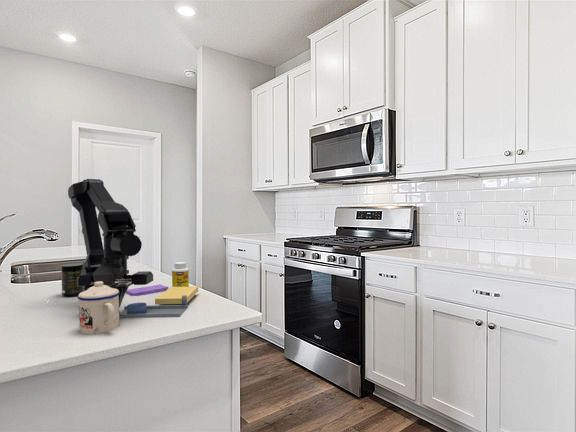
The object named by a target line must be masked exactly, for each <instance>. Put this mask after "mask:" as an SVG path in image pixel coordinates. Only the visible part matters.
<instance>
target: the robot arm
mask: <svg viewBox="0 0 576 432" xmlns="http://www.w3.org/2000/svg"><path fill="white" fill-rule="evenodd" d="M104 185H105V183H104V181H103V180H102V179H97V178H95V179H94V178H86V179H83V180H82V181H78V182H75V183H72V184H71V185H70V186H69V187H68V190H67V194H68V199H70V203H71V206H72V207H73V208H74V209H76V210H77V211H78V213H79V218H80V224H81V228H82V235H83V239H84V246H85V251H86V257H85V259H84V261H83V262H82V263H83V269H82V271H81V274H80V275H79V277H78V279H77V286H81V287H83V288H84V291H86V290H88V289H89V288H90V287H93V286H94V283H95V282H98V281H102V282H103V285H106V286H109V287H111V288H115V289H118V290H119V293H120V294H119V309H120V308H121V305H122V302H123V299H124V298H125V295H126V291H127V290H128V289H129V287H130V286H132V285H134V286H144V285H145V286H146V285H149V284H150V283H152V282H154V274H153V272H152V271H148V270H147V271H145V270H142V271H137V272H134V273H132V274H129V273H130V269H128V260H129V257H133V256H136V255H138V254H139V253H140V252H141V250H142V246H143V244H142V240H141V238H140V237H139V236H138V235H136V234H135V233H136V232H137V229H136V226H137V225H136V223H135V222H134V219H133V218H132V215H131V213H130V212H129V210H128V208H126V207H125V205H123V204H122V203H118V202H116V201H115V200H114V198H113V197H112V195H111V194H110V193H109V191H108V189H107V188H106V187H105V186H104ZM97 211H98V214H97ZM101 230H102V234H101ZM102 237H103V239H102Z"/></svg>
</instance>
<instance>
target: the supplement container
mask: <svg viewBox="0 0 576 432" xmlns="http://www.w3.org/2000/svg"><path fill="white" fill-rule="evenodd" d="M83 263H84V262H81V263H80V262H78V263H77V262H76V263H66V264H61V265H60V272H61V274H60V275H61V295H62V296H63V297H65V298H74V297H78V295H79V294H80V293H81V292H83V291H84V288H83V287H81V286H77V279H78V277H79V275H80V274H81V271H82V269H83Z"/></svg>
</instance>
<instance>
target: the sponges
mask: <svg viewBox="0 0 576 432" xmlns="http://www.w3.org/2000/svg"><path fill="white" fill-rule="evenodd" d="M168 289H169V286H166V285H162V284H156V285H155V284H153V285H150V286H141V287H136V288H130V289H129V288H128V289H127V291H126V293H125V295H129V296H131V297H139V296H145V295H150V294H151V295H152V294H158V293H164V292H165V291H166V290H168Z"/></svg>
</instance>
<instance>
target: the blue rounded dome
mask: <svg viewBox="0 0 576 432" xmlns="http://www.w3.org/2000/svg"><path fill="white" fill-rule="evenodd" d="M126 306H127V314H134V313H146V312H147V302H134V303H133V302H132V303H129V304H127V305H126Z"/></svg>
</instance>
